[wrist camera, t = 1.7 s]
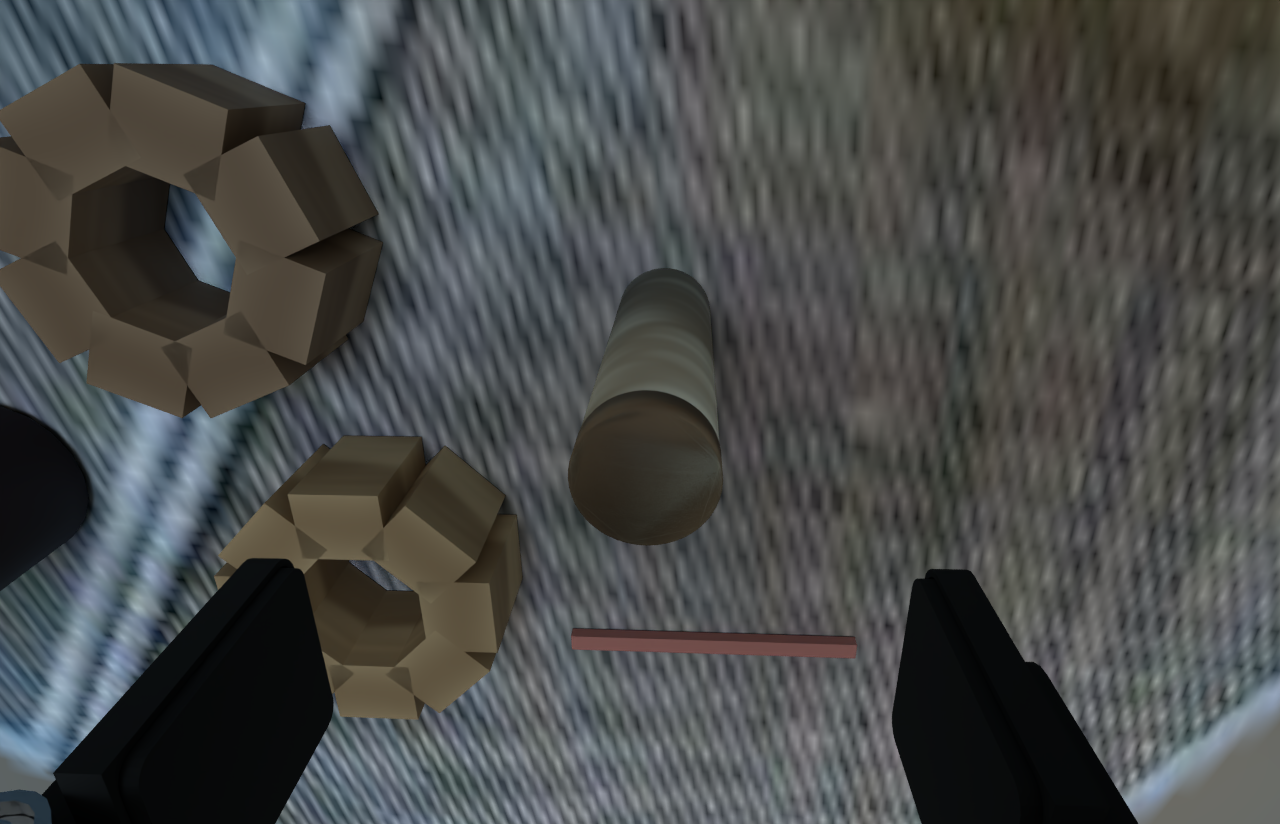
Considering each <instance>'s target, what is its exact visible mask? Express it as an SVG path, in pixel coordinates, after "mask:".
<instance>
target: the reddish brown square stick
mask: <svg viewBox="0 0 1280 824" xmlns="http://www.w3.org/2000/svg"><path fill="white" fill-rule="evenodd" d="M571 640H572V649H579V650H611V651H642V652H673V653H705V654H736V655H767V656H799V657H830V658H855V656H856V649H857V644H856V640H855V637H836V636H803V635H770V634H736V633H703V632H670V631H637V630H604V629H573V631H572V635H571Z"/></svg>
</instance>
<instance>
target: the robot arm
mask: <svg viewBox="0 0 1280 824" xmlns="http://www.w3.org/2000/svg"><path fill="white" fill-rule="evenodd" d="M332 713H333V696H332V692H331V687H330V683H329V679H328V674H327V670H326V666H325V662H324V657H323V653H322V649H321V644H320V640H319V636H318V632H317V627H316V623H315V619H314V615H313V610H312V606H311V602H310V597H309V593H308V589H307V585H306V580H305V576H304V574H303V572H302V570H301V569H298V568H294V566H293V564H292V562H291V561H290V560H288V559H281V558H250V559H247V560H246V561H245V562H243V563H242V564H241V566H240V567H239V568H238V569H237V570H236V571H235V572H234V573H233V574H232V576H231V577H230V578H229V579H228V580H227V581H226V582H225V583H224V584H223V586H222V587H221V588H220V589H219V590H218V591H217V592H216V593H215V594H214V595H213V597H212V598H211V599H210V600H209V601H208V602H207V603H206V604H205V605H204V607H203V608H202V609H201V610H200V611H199V612H198V613H197V614H196V615H195V617H194V618H193V619H192V620H191V621H190V622H189V623H188V624H187V625H186V627H185V628H184V629H183V630H182V631H181V632H180V633H179V634H178V635H177V636H176V638H175V639H174V640H173V641H172V642H171V643H170V644H169V645H168V646H167V648H166V649H165V650H164V651H163V652H162V653H161V654H160V655H159V656H158V658H157V659H156V660H155V661H154V662H153V663H152V664H151V665H150V666H149V667H148V669H147V670H146V671H145V672H144V673H143V674H142V675H141V676H140V677H139V679H138V680H137V681H136V682H135V683H134V684H133V685H132V686H131V687H130V689H129V690H128V691H127V692H126V693H125V694H124V695H123V696H122V697H121V699H120V700H119V701H118V702H117V703H116V704H115V705H114V706H113V707H112V708H111V710H110V711H109V712H108V713H107V714H106V715H105V716H104V717H103V718H102V720H101V721H100V722H99V723H98V724H97V725H96V726H95V727H94V728H93V730H92V731H91V732H90V733H89V734H88V735H87V736H86V737H85V738H84V740H83V741H82V742H81V743H80V744H79V745H78V746H77V747H76V748H75V749H74V751H73V752H72V753H71V754H70V755H69V756H68V757H67V758H66V759H65V761H64V762H63V763H62V764H61V765H60V766H59V767H58V768H57V769H56V771H55V772H54V773H53V774H54V776H55V778H56V780H55V781H54V782H53V783H52V784H51V786H49V788H48V789H47V790H46V791H45V792H44V793H43V794H42V795H40V794H39V793H37V792H35V791H26V790H14V791H7V792H0V824H275V823H276V821H277V819H278V817H279V816H280V814H281V812H282V810H283V808H284V806H285V804H286V803H287V801H288V799H289V797H290V795H291V793H292V792H293V790H294V788H295V786H296V784H297V782H298V781H299V779H300V777H301V775H302V773H303V771H304V770H305V768H306V766H307V764H308V762H309V760H310V759H311V757H312V755H313V753H314V751H315V749H316V747H317V746H318V744H319V742H320V740H321V738H322V736H323V735H324V733H325V731H326V729H327V727H328V725H329V723H330V721H331V717H332ZM892 727H893V734H894V739H895V742H896V746H897V749H898V752H899V755H900V758H901V761H902V764H903V767H904V770H905V773H906V777H907V780H908V783H909V786H910V789H911V792H912V795H913V798H914V801H915V804H916V807H917V811H918V814H919V817H920V820H921V823H922V824H1138V822H1137V821H1136V819H1135V817H1134V816H1133V814H1132V812H1131V811H1130V809H1129V808H1128V806H1127V804H1126V803H1125V801H1124V799H1123V798H1122V796H1121V795H1120V793H1119V791H1118V790H1117V788H1116V786H1115V785H1114V783H1113V782H1112V780H1111V778H1110V777H1109V775H1108V773H1107V772H1106V770H1105V768H1104V767H1103V765H1102V764H1101V762H1100V760H1099V759H1098V757H1097V755H1096V754H1095V752H1094V751H1093V749H1092V747H1091V746H1090V744H1089V742H1088V741H1087V739H1086V737H1085V736H1084V734H1083V733H1082V731H1081V729H1080V728H1079V726H1078V724H1077V723H1076V721H1075V720H1074V718H1073V716H1072V715H1071V713H1070V711H1069V710H1068V708H1067V707H1066V705H1065V703H1064V702H1063V700H1062V698H1061V697H1060V695H1059V693H1058V692H1057V690H1056V689H1055V687H1054V685H1053V684H1052V682H1051V680H1050V679H1049V677H1048V676H1047V674H1046V673H1045V672H1044V670H1043V669H1042V668H1041V666H1039V665H1038V664H1036V663H1034V662H1025V661H1024V660H1023V658H1022V656H1021V655H1020V653H1019V651H1018V649H1017V648H1016V646H1015V644H1014V643H1013V641H1012V639H1011V638H1010V636H1009V634H1008V632H1007V631H1006V629H1005V627H1004V626H1003V624H1002V622H1001V621H1000V619H999V617H998V615H997V614H996V612H995V610H994V609H993V607H992V605H991V604H990V602H989V600H988V598H987V597H986V595H985V593H984V592H983V590H982V588H981V587H980V585H979V583H978V581H977V580H976V578H975V576H974V575H973V574H972V572H971V571H969V570H951V569H930V570H928V571H927V573H926V575H925V579H915V581H914V582H913V586H912V592H911V598H910V605H909V611H908V617H907V624H906V630H905V636H904V643H903V649H902V655H901V662H900V668H899V674H898V681H897V687H896V693H895V699H894V706H893V712H892Z"/></svg>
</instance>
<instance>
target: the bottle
mask: <svg viewBox="0 0 1280 824" xmlns="http://www.w3.org/2000/svg"><path fill="white" fill-rule="evenodd" d="M88 500H89V497H88V493H87V488H86V484H85V480H84V476H83V474H82V472H81V470H80V468H79V467H78V465H77V463H76V461H75V460H74V458H73V456H72V454H71V453H70V452H69V451H68V450H67V449H66V447H65V446H64V445H63V444H62V443H61V442H60V441H59V440H58V439H57V438H56V437H55V436H54V435H53V434H52V433H51V432H49V431H48V430H46V429H45V428H43V427H42V426H40V425H39V424H37V423H36V422H35V421H33V420H32V419H30V418H28V417H27V416H24V415H22V414H19V413H17V412H14V411H11V410H9V409H6V408H4V407H1V406H0V591H1V590H2V589H3V588H5V587H6V586H7V585H9V584H10V583H11V582H13V581H14V580H15V579H17V578H18V577H19V576H21V575H22V574H23V573H25V572H26V571H27V570H29V569H30V568H31V567H33V566H34V565H35V564H37V563H38V562H39V561H41V560H42V559H43V558H45V557H46V556H47V555H49V554H50V553H51V552H53V551H54V550H55V549H57V548H58V547H59V546H61V545H62V544H63V543H65V542H66V541H67V540H69V539H70V538H71V537H73V535H74V534H75V532H76V531H77V529H78V528H79V527H80V525H81V524H82V522H83V521H84V519H85V518H86V513H87V506H88Z"/></svg>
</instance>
